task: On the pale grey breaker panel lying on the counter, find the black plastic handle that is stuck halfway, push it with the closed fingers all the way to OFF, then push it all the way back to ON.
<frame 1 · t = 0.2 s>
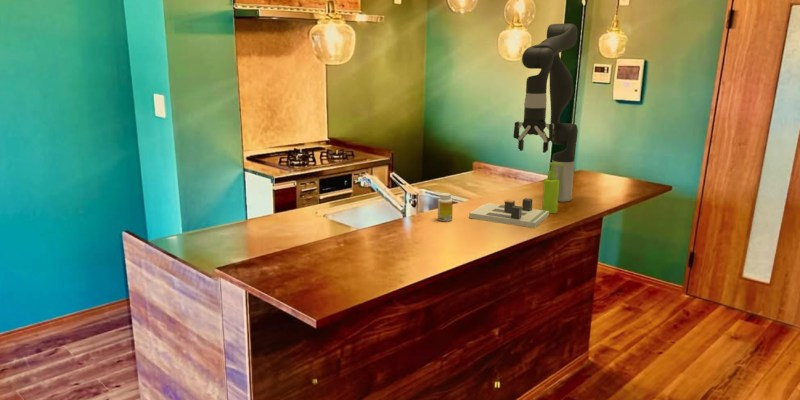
hand: (532, 151, 203), 28 cm above the countertop, tool pointing down, fingers open, 8 cm apart
supplement bottle: (444, 220, 216), on the countertop
breaker panel: (509, 217, 219), on the countertop
breaker 1: (516, 212, 210), point 4 cm above the countertop, slide at 10.0 cm
breaker 2: (527, 204, 221), point 4 cm above the countertop, slide at 10.0 cm
soap dispenser: (551, 212, 227), on the countertop
breaker mid: (509, 205, 218), point 4 cm above the countertop, slide at 5.0 cm
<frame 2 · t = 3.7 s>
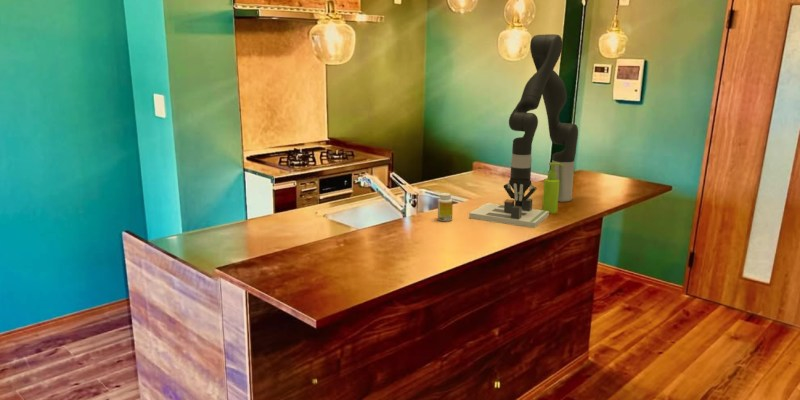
hand: (518, 209, 216), 4 cm above the countertop, tool pointing down, fingers closed
breaker mid: (509, 205, 218), point 4 cm above the countertop, slide at 4.9 cm, touching gripper
everything else where it was.
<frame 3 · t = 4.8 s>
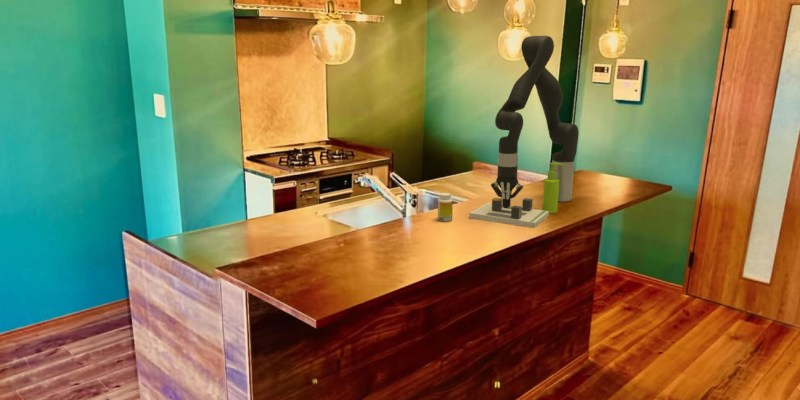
hand: (506, 207, 219), 4 cm above the countertop, tool pointing down, fingers closed
breaker mid: (496, 204, 220), point 4 cm above the countertop, slide at -0.2 cm, touching gripper
everything else where it was.
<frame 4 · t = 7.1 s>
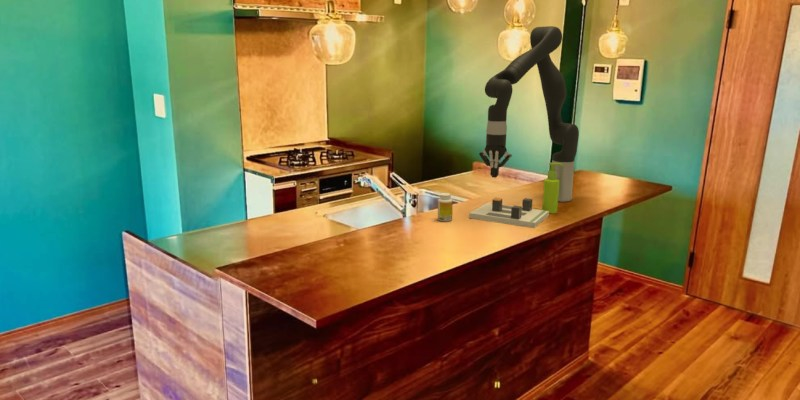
hand: (494, 177, 218), 15 cm above the countertop, tool pointing down, fingers closed
breaker mid: (497, 204, 220), point 4 cm above the countertop, slide at -0.1 cm
everything else where it was.
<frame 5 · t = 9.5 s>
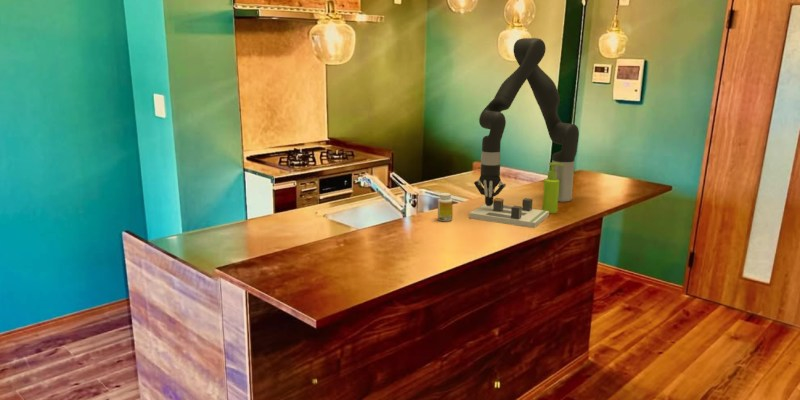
hand: (488, 205, 222), 3 cm above the countertop, tool pointing down, fingers closed
breaker mid: (498, 204, 220), point 4 cm above the countertop, slide at 0.4 cm, touching gripper
everything else where it was.
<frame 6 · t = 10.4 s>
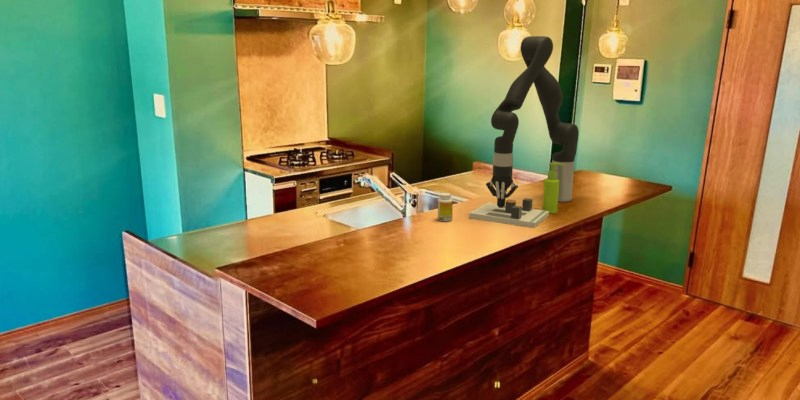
hand: (500, 207, 220), 3 cm above the countertop, tool pointing down, fingers closed
breaker mid: (510, 206, 218), point 4 cm above the countertop, slide at 5.4 cm, touching gripper
everything else where it was.
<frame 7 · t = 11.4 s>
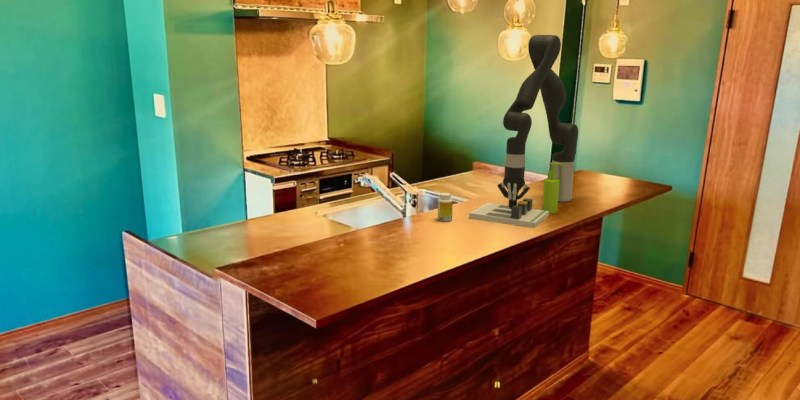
hand: (512, 208, 218), 3 cm above the countertop, tool pointing down, fingers closed
breaker mid: (522, 207, 215), point 4 cm above the countertop, slide at 10.1 cm, touching gripper
everything else where it was.
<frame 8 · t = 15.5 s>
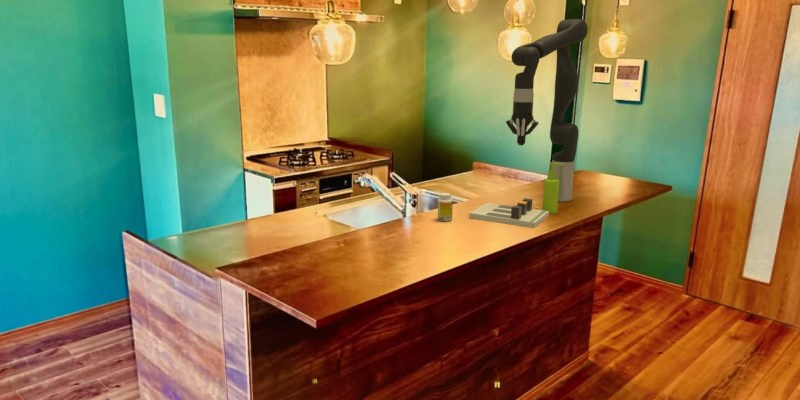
hand: (520, 145, 221), 27 cm above the countertop, tool pointing down, fingers closed
breaker mid: (522, 207, 215), point 4 cm above the countertop, slide at 10.1 cm
everything else where it was.
at the end: breaker mid slide at 10.1 cm; breaker 2 slide at 10.0 cm; breaker 1 slide at 10.0 cm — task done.
